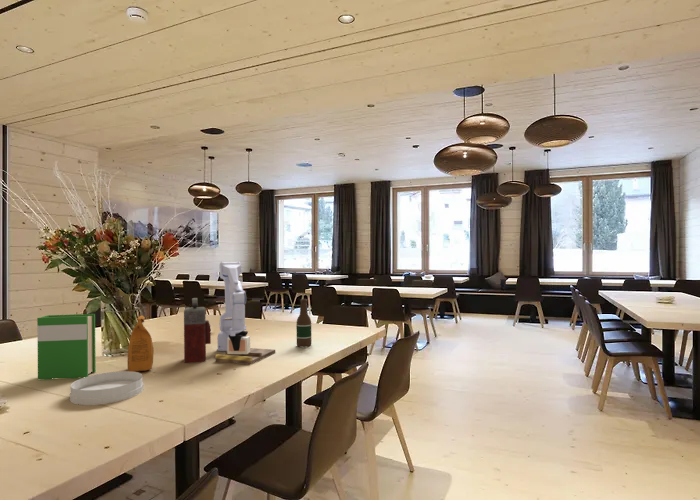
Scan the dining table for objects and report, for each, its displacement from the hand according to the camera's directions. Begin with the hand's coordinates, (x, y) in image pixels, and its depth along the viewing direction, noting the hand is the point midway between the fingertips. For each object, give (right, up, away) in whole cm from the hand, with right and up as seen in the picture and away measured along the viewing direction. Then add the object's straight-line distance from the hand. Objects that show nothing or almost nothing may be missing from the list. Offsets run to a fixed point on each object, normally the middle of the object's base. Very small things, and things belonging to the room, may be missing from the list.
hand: (238, 349), depth 190 cm
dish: (-34, -6, -43) cm, 55 cm away
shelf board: (+2, -5, +6) cm, 8 cm away
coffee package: (-38, -6, -12) cm, 40 cm away
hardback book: (-63, -6, -21) cm, 66 cm away
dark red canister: (-19, -6, +3) cm, 20 cm away
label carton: (0, -2, 0) cm, 2 cm away
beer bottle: (+26, -5, +29) cm, 39 cm away
